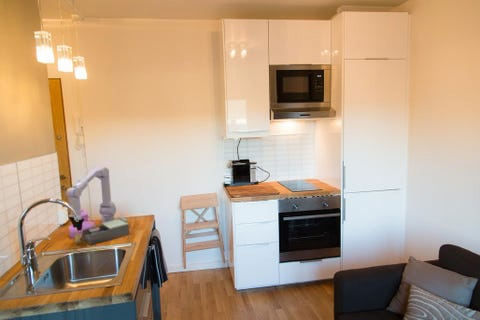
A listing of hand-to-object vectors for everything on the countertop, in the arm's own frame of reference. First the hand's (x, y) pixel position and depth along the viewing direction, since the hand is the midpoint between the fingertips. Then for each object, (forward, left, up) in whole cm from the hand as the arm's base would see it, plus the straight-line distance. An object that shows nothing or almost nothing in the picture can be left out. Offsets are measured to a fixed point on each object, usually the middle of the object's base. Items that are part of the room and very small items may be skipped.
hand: (77, 228), depth 187 cm
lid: (+2, +22, -3) cm, 22 cm away
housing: (+2, +16, -9) cm, 19 cm away
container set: (-20, +8, -10) cm, 24 cm away
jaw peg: (0, 0, -9) cm, 9 cm away
